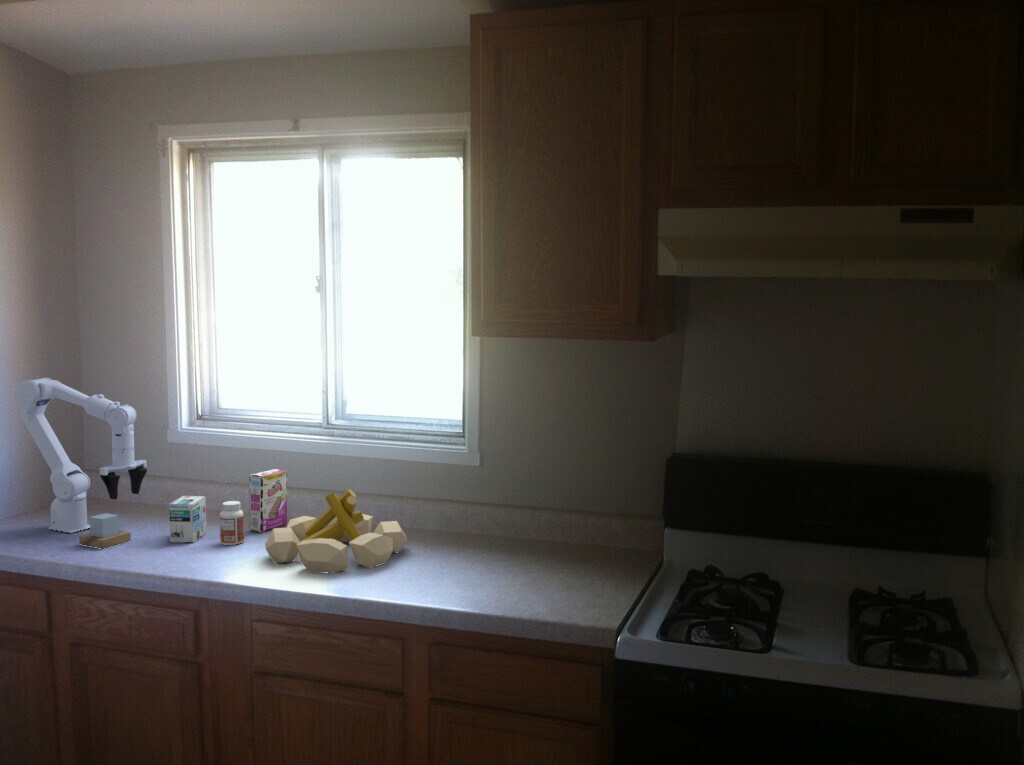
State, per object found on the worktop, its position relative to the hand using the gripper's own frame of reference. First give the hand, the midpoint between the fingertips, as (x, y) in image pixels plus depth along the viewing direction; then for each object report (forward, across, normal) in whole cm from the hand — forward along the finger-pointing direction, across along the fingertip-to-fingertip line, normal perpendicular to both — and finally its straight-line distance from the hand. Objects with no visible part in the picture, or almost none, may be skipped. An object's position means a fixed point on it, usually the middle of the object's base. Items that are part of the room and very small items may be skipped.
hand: (124, 496), depth 266 cm
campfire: (+10, +10, -66) cm, 68 cm away
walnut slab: (+10, -12, -6) cm, 17 cm away
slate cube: (+7, -12, -6) cm, 16 cm away
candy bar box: (+10, +22, -33) cm, 41 cm away
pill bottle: (+10, +5, -35) cm, 37 cm away
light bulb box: (+10, +3, -21) cm, 24 cm away
